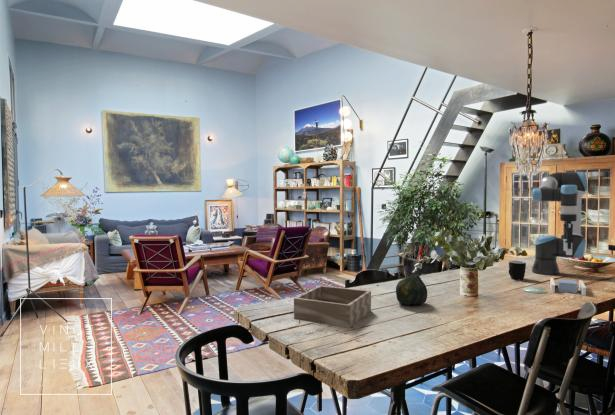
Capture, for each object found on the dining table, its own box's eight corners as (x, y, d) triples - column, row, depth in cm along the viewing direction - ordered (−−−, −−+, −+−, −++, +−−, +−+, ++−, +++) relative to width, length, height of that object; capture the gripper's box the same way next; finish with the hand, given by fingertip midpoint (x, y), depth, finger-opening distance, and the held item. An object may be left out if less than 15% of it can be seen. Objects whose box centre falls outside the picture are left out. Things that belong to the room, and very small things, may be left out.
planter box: (320, 304, 204) (320, 285, 204) (370, 310, 192) (370, 291, 192) (294, 319, 182) (293, 298, 181) (349, 327, 170) (349, 305, 170)
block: (557, 288, 229) (558, 279, 229) (575, 290, 226) (575, 280, 226) (558, 291, 222) (559, 282, 222) (577, 293, 219) (577, 283, 218)
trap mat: (555, 285, 234) (555, 285, 234) (576, 287, 230) (576, 287, 230) (555, 287, 231) (555, 286, 231) (577, 289, 226) (577, 288, 226)
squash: (384, 291, 206) (402, 271, 198) (404, 287, 215) (421, 268, 207) (402, 315, 198) (421, 295, 190) (421, 310, 208) (440, 291, 200)
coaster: (523, 287, 232) (523, 286, 232) (546, 289, 227) (546, 288, 227) (522, 291, 223) (522, 290, 223) (547, 294, 217) (547, 292, 217)
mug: (514, 276, 258) (514, 260, 258) (528, 279, 251) (529, 262, 250) (502, 279, 252) (502, 262, 252) (516, 281, 245) (516, 264, 244)
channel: (550, 285, 236) (550, 277, 236) (582, 287, 229) (582, 280, 229) (551, 292, 220) (551, 284, 220) (585, 295, 213) (586, 287, 213)
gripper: (558, 211, 242) (557, 248, 243) (562, 215, 220) (561, 256, 221) (573, 211, 239) (573, 249, 240) (579, 215, 216) (578, 257, 218)
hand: (567, 252), depth 231 cm, fingers open, 13 cm apart
